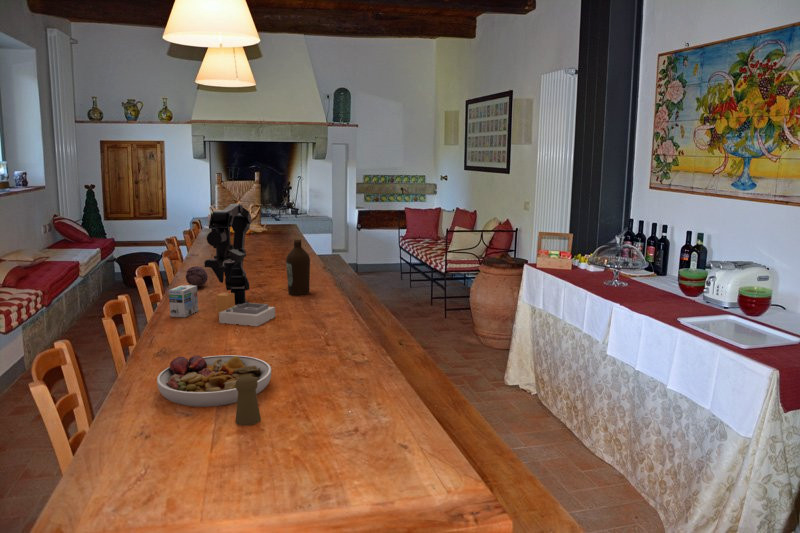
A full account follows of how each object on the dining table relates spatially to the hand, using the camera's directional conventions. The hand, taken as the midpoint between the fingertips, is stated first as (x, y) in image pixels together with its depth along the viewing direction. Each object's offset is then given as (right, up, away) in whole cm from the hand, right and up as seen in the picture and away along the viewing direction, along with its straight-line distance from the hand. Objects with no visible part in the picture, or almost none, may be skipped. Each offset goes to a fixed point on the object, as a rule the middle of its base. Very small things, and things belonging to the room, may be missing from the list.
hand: (224, 281), depth 254 cm
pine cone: (-27, -4, +51) cm, 58 cm away
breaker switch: (+12, -13, -7) cm, 20 cm away
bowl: (+19, -28, -77) cm, 84 cm away
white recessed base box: (+11, -15, -7) cm, 19 cm away
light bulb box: (-16, -13, +2) cm, 21 cm away
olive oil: (+23, -7, +38) cm, 45 cm away
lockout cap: (0, -13, +2) cm, 13 cm away
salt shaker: (+32, -32, -97) cm, 107 cm away
